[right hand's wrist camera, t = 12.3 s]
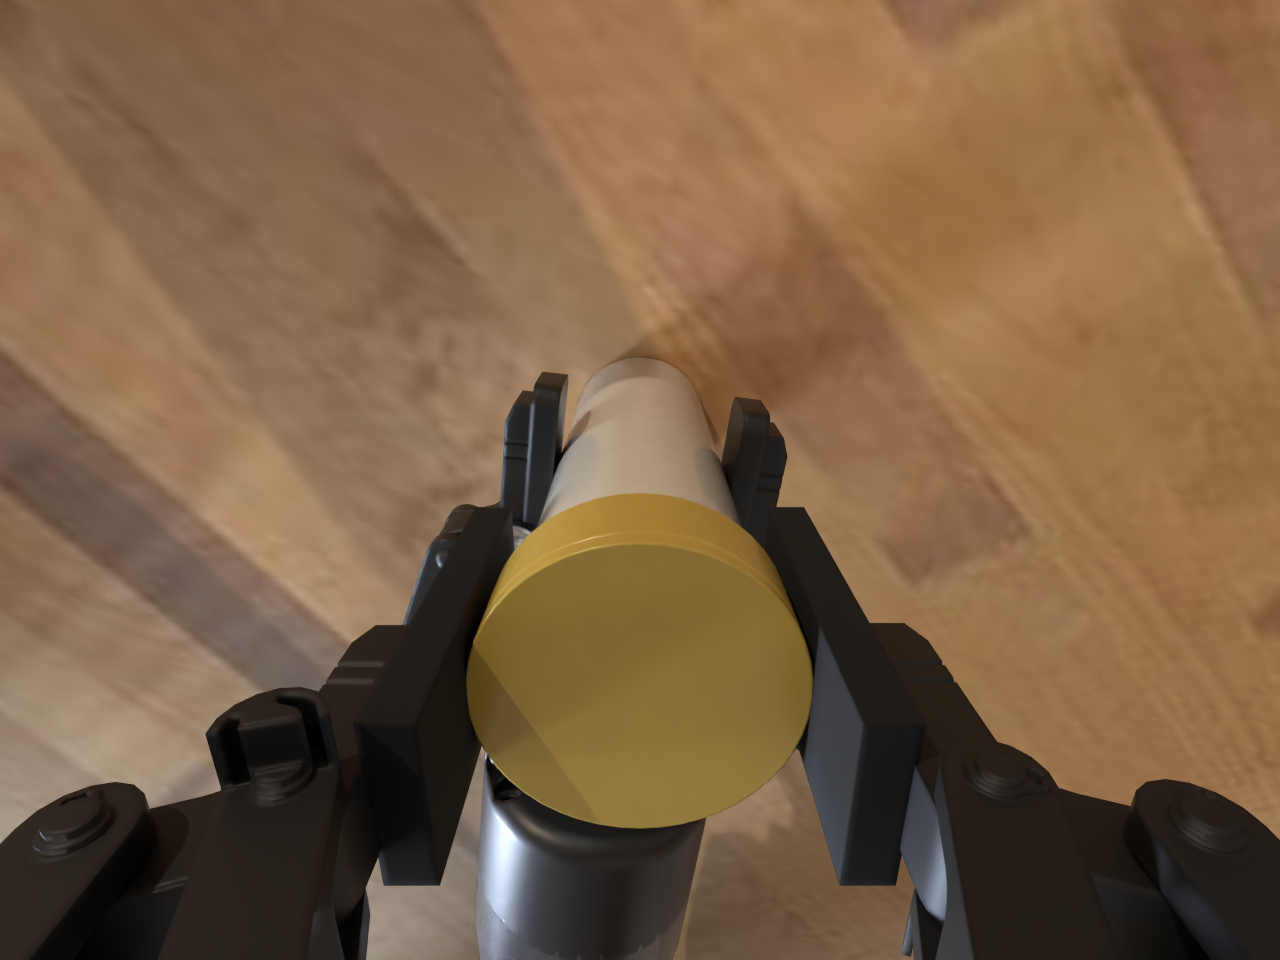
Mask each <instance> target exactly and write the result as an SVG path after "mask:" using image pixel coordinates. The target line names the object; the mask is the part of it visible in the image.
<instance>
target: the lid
mask: <svg viewBox="0 0 1280 960" xmlns="http://www.w3.org/2000/svg"><path fill="white" fill-rule="evenodd" d="M813 682H814V676H813V668H812V660H811V657H810V654H809V650H808V647H807V643H806V640H805V638H804V635H803V633H802V630H801V628H800V625H799V622H798V620H797V617H796V615H795V612H794V610H793V607H792V605H791V602H790V600H789V597H788V594H787V592H786V589H785V587H784V584H783V582H782V580H781V577H780V575H779V573H778V571H777V569H776V567H775V565H774V563H773V562H772V561H771V559H770V558H769V556H768V555H767V553H766V552H765V550H764V549H763V548H762V547H761V546H760V545H759V543H758V542H757V541H756V540H755V539H754V538H753V537H752V536H751V535H750V534H749V533H747V532H746V531H745V530H744V529H743V528H742V527H740V526H739V525H738V524H737V523H735V522H733V521H732V520H730V519H729V518H727V517H726V516H724V515H722V514H721V513H719V512H717V511H714V510H712V509H710V508H708V507H706V506H704V505H701V504H698V503H695V502H692V501H689V500H686V499H683V498H678V497H672V496H667V495H662V494H646V493H633V494H618V495H612V496H607V497H601V498H597V499H594V500H590V501H587V502H584V503H581V504H578V505H576V506H573V507H571V508H569V509H567V510H565V511H563V512H560V513H559V514H557V515H555V516H554V517H552V518H551V519H549V520H547V521H546V522H544V523H543V524H541V525H540V526H539V527H538V528H537V529H535V530H534V531H533V532H532V533H531V534H529V535H528V536H527V537H526V538H525V539H524V540H523V542H522V543H521V544H520V545H519V546H518V547H517V548H516V549H515V550H514V552H513V553H512V555H511V556H510V558H509V559H508V561H507V562H506V564H505V565H504V567H503V570H502V572H501V574H500V576H499V578H498V580H497V582H496V585H495V587H494V590H493V592H492V595H491V598H490V600H489V603H488V605H487V608H486V610H485V613H484V615H483V618H482V620H481V623H480V626H479V629H478V631H477V633H476V636H475V638H474V641H473V644H472V647H471V651H470V654H469V657H468V662H467V670H466V689H467V699H468V707H469V715H470V719H471V722H472V724H473V727H474V730H475V733H476V735H477V737H478V739H479V741H480V743H481V745H482V746H483V748H484V750H485V752H486V753H487V755H488V756H489V757H490V759H491V760H492V761H493V763H494V764H495V766H496V767H497V768H498V769H499V770H500V771H501V772H502V773H503V774H504V775H505V776H506V777H507V778H508V779H509V780H510V781H511V782H512V783H513V784H515V785H516V786H517V787H518V788H519V789H521V790H522V791H523V792H524V793H526V794H527V795H529V796H531V797H532V798H534V799H535V800H537V801H538V802H540V803H542V804H544V805H546V806H548V807H550V808H552V809H554V810H556V811H558V812H560V813H563V814H566V815H568V816H571V817H574V818H576V819H580V820H584V821H587V822H591V823H595V824H600V825H607V826H613V827H623V828H656V827H666V826H672V825H679V824H684V823H688V822H692V821H696V820H700V819H703V818H705V817H708V816H711V815H714V814H716V813H719V812H721V811H723V810H725V809H727V808H729V807H732V806H734V805H736V804H738V803H739V802H741V801H742V800H744V799H746V798H747V797H749V796H750V795H752V794H753V793H755V792H756V791H757V790H759V789H760V788H761V787H762V786H763V785H765V784H766V783H767V782H768V781H770V780H771V778H772V777H773V776H774V775H775V774H776V773H777V772H778V771H779V770H780V769H781V768H782V767H783V766H784V764H785V763H786V762H787V760H788V759H789V758H790V756H791V755H792V753H793V752H794V750H795V749H796V747H797V745H798V743H799V741H800V739H801V737H802V736H803V733H804V730H805V728H806V725H807V722H808V719H809V716H810V711H811V703H812V694H813Z"/></svg>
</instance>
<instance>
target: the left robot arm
mask: <svg viewBox="0 0 1280 960" xmlns="http://www.w3.org/2000/svg"><path fill="white" fill-rule="evenodd" d="M567 389H568V375H565V374H557V373H549V372H542V373H541V375H540V377H539V378H538V380H537V381H536V383H535V386H534V391H533V392H532V391H524V390H523V391H522V393H521V394H520V396H519V397H518V398H517V400H516V401H515V403H514V405H513V407H512V409H511V411H510V413H509V415H508V417H507V419H506V421H505V433H504V449H503V466H502V483H501V500H500V502H498V503H497V504H494V505H491V506H487V507H511V508H512V521H513V535H514V548H515V549H516V548H517V547H518V546H519V545H520V544H521V543H522V542H523V540H524V539H525V538H526V537H527V536H528V535H529V534H531V533H532V532H533V531H534V530H535V529H537V526H538V523H539V520H540V517H541V514H542V511H543V508H544V505H545V502H546V499H547V496H548V493H549V490H550V487H551V484H552V481H553V478H554V475H555V472H556V469H557V466H558V463H559V460H560V457H561V454H562V443H563V433H564V422H565V411H566V400H567ZM786 461H787V453H786V447H785V442H784V438H783V436H782V435H781V433H780V432H779V430H778V428H777V427H776V425H775V424H774V423H771V422H770V414H769V412H768V411H767V409H766V408H765V406H764V405H763V403H762V401H761V400H755V399H747V398H739V397H735V399H734V401H733V404H732V408H731V413H730V419H729V424H728V430H727V435H726V440H725V446H724V451H723V457H722V462H721V465H722V468H723V471H724V474H725V477H726V480H727V483H728V486H729V489H730V492H731V495H732V498H733V501H734V504H735V507H736V510H737V513H738V516H739V519H740V523H741V526H742V528H743V529H744V530H745V531H746V532H747V533H749V534H750V535H751V536H752V537H753V538H754V539H755V540H756V541H757V542H758V543H759V545H760V546H761V547H762V548H763V549H764V550H765V543H766V529H767V516H768V507H776V506H777V501H778V497H779V490H780V488H781V483H782V476H783V474H784V470H785V465H786ZM475 507H476V506H474V505H469V504H464V505H460V506H458V507H456V508H455V509H454V510H453V511H452V512H451V514H450V515H449V517H448V518H447V520H446V522H445V525H444V528H443V529H442V531H441V532H440V534H439V536H437V537H436V538H435V539H434V540H433V542H432V543H431V545H430V546H429V548H428V550H427V552H426V555H425V558H424V561H423V564H422V567H421V570H420V573H419V576H418V579H417V582H416V585H415V588H414V591H413V594H412V597H411V601H410V604H409V607H408V610H407V613H406V616H405V619H404V622H403V625H409V624H410V622H411V621H412V619H413V617H414V615H415V614H416V612H417V610H418V608H419V606H420V605H421V603H422V601H423V599H424V598H425V596H426V594H427V592H428V591H429V589H430V587H431V585H432V583H433V582H434V580H435V578H436V576H437V575H438V573H439V571H440V569H441V568H442V566H443V564H444V562H445V561H446V559H447V557H448V555H449V553H450V552H451V550H452V548H453V546H454V545H455V543H456V541H457V539H458V538H459V536H460V534H461V532H462V530H463V529H464V527H465V525H466V523H467V522H468V520H469V518H470V516H471V515H472V513H473V511H474V509H475ZM796 749H798V750H799V747H798V745H797V747H796ZM705 821H706V817H705V818H703V819H700V820H696V821H692V822H688V823H684V824H679V825H672V826H666V827H656V828H623V827H613V826H607V825H600V824H595V823H591V822H587V821H584V820H580V819H576V818H574V817H571V816H568V815H566V814H563V813H560V812H558V811H556V810H554V809H552V808H550V807H548V806H546V805H544V804H542V803H540V802H538V801H537V800H535V799H534V798H532V797H531V796H529V795H527V794H526V793H524V792H523V791H522V790H521V789H519V788H518V787H517V786H516V785H515V784H513V783H512V782H511V781H510V780H509V779H508V778H507V777H506V776H505V775H504V774H503V773H502V772H501V771H500V770H499V769H498V768H497V767H496V766H495V764H494V763H493V761H492V760H491V759H490V757H489V756H488V755H487V753H486V752H485V761H484V778H483V795H482V811H481V827H480V843H479V859H478V876H477V894H476V931H477V940H478V946H479V952H480V957H479V960H672V959H673V956H674V954H675V951H676V948H677V945H678V942H679V938H680V934H681V929H682V925H683V921H684V916H685V912H686V908H687V903H688V898H689V894H690V889H691V885H692V880H693V875H694V871H695V866H696V862H697V858H698V853H699V848H700V844H701V839H702V835H703V830H704V826H705Z"/></svg>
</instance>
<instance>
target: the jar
mask: <svg viewBox="0 0 1280 960" xmlns="http://www.w3.org/2000/svg"><path fill="white" fill-rule="evenodd" d="M633 493H646V494H662V495H667V496H672V497H678V498H683V499H686V500H689V501H692V502H695V503H698V504H701V505H704V506H706V507H708V508H710V509H712V510H714V511H717V512H719V513H721V514H722V515H724V516H726V517H727V518H729V519H730V520H732V521H733V522H735V523H737V524H738V525H739V526H740V527H742V526H741V523H740V519H739V516H738V513H737V510H736V507H735V504H734V501H733V498H732V495H731V492H730V489H729V486H728V483H727V480H726V477H725V474H724V471H723V468H722V465H721V462H720V459H719V456H718V453H717V450H716V447H715V444H714V441H713V438H712V435H711V432H710V429H709V426H708V423H707V420H706V417H705V414H704V411H703V408H702V405H701V402H700V399H699V396H698V394H697V392H696V390H695V388H694V386H693V385H692V384H691V382H690V381H689V380H688V379H687V378H686V377H685V376H684V374H682V373H681V372H680V371H679V370H677V369H676V368H674V367H673V366H671V365H669V364H667V363H665V362H662V361H659V360H656V359H652V358H644V357H635V358H627V359H623V360H620V361H617V362H614V363H612V364H610V365H608V366H606V367H605V368H603V369H602V370H601V371H599V372H598V373H597V374H596V375H595V376H594V377H593V378H592V379H591V380H590V381H589V383H588V384H587V385H586V387H585V389H584V390H583V392H582V394H581V397H580V399H579V402H578V405H577V408H576V411H575V414H574V417H573V420H572V423H571V426H570V429H569V432H568V436H567V439H566V442H565V445H564V448H563V451H562V454H561V457H560V460H559V463H558V466H557V469H556V472H555V475H554V478H553V481H552V484H551V487H550V490H549V493H548V496H547V499H546V502H545V505H544V508H543V511H542V514H541V517H540V520H539V523H538V526H537V528H538V527H539V526H540V525H541V524H543V523H544V522H546V521H547V520H549V519H551V518H552V517H554V516H555V515H557V514H559V513H560V512H563V511H565V510H567V509H569V508H571V507H573V506H576V505H578V504H581V503H584V502H587V501H590V500H594V499H597V498H601V497H607V496H612V495H618V494H633Z"/></svg>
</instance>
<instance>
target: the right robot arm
mask: <svg viewBox="0 0 1280 960" xmlns="http://www.w3.org/2000/svg"><path fill="white" fill-rule="evenodd" d="M514 550H515V548H514V535H513V521H512V508H511V507H475V509H474V511H473V513H472V515H471V516H470V518H469V520H468V522H467V523H466V525H465V527H464V529H463V530H462V532H461V534H460V536H459V538H458V539H457V541H456V543H455V545H454V546H453V548H452V550H451V552H450V553H449V555H448V557H447V559H446V561H445V562H444V564H443V566H442V568H441V569H440V571H439V573H438V575H437V576H436V578H435V580H434V582H433V583H432V585H431V587H430V589H429V591H428V592H427V594H426V596H425V598H424V599H423V601H422V603H421V605H420V606H419V608H418V610H417V612H416V614H415V615H414V617H413V619H412V621H411V622H410V624H409V625H375V626H374V627H373V628H371V629H370V630H369V631H367V632H366V633H365V634H363V635H362V636H360V637H359V638H358V639H356V640H355V641H354V642H352V643H351V645H350V646H349V648H348V649H347V651H346V652H345V654H344V655H343V657H342V658H341V660H340V661H339V663H338V667H335V668H334V670H333V671H332V673H331V674H330V676H329V677H328V679H327V680H326V681H327V682H326V685H323V686H322V688H321V689H320V691H319V692H318V691H314V690H310V689H306V688H302V687H295V688H279V689H275V690H271V691H268V692H264V693H260V694H256V695H254V696H252V697H250V698H248V699H246V700H244V701H242V702H240V703H238V704H235V705H234V706H233V707H231V708H230V709H229V710H227V711H226V712H225V713H223V714H222V715H221V716H219V717H218V718H217V719H216V720H215V721H214V723H213V724H212V726H211V727H210V728H209V730H208V731H207V732H206V738H207V741H208V745H209V748H210V751H211V755H212V758H213V762H214V765H215V769H216V772H217V776H218V779H219V782H220V786H221V791H219V792H215V793H212V794H209V795H206V796H202V797H198V798H194V799H190V800H186V801H181V802H177V803H173V804H169V805H165V806H160V807H156V808H152V809H149V806H148V803H147V800H146V797H145V794H144V793H143V792H142V791H141V790H140V789H138V788H137V787H136V786H135V785H133V784H126V783H119V782H112V783H106V784H100V785H93V786H89V787H86V788H84V789H81V790H78V791H76V792H73V793H70V794H67V795H65V796H63V797H61V798H59V799H57V800H55V801H54V802H52V803H50V804H48V805H47V806H45V807H43V808H41V809H39V810H38V811H36V812H35V813H34V814H33V815H31V816H30V817H29V818H28V819H27V820H25V821H24V822H23V823H22V824H21V825H19V826H18V827H17V828H16V829H15V830H14V831H13V832H12V833H11V834H10V835H9V836H8V837H7V838H6V839H5V840H4V841H3V842H2V843H1V844H0V960H366V953H367V942H368V932H369V921H370V910H369V903H368V897H367V892H366V885H367V883H368V881H369V878H370V876H371V873H372V871H373V868H374V866H375V863H376V861H377V859H378V857H379V863H380V868H381V873H382V878H383V884H384V886H440V883H441V880H442V877H443V873H444V870H445V867H446V863H447V860H448V856H449V853H450V850H451V846H452V843H453V840H454V836H455V833H456V830H457V826H458V823H459V820H460V816H461V813H462V810H463V806H464V803H465V800H466V796H467V793H468V790H469V786H470V783H471V780H472V776H473V773H474V770H475V766H476V763H477V759H478V756H479V753H480V749H481V746H482V745H481V743H480V741H479V739H478V737H477V735H476V733H475V730H474V727H473V724H472V722H471V719H470V715H469V707H468V699H467V689H466V670H467V662H468V657H469V654H470V651H471V647H472V644H473V641H474V638H475V636H476V633H477V631H478V629H479V626H480V623H481V620H482V618H483V615H484V613H485V610H486V608H487V605H488V603H489V600H490V598H491V595H492V592H493V590H494V587H495V585H496V582H497V580H498V578H499V576H500V574H501V572H502V570H503V567H504V565H505V564H506V562H507V561H508V559H509V558H510V556H511V555H512V553H513V552H514ZM765 552H766V553H767V555H768V556H769V558H770V559H771V561H772V562H773V563H774V565H775V567H776V569H777V571H778V573H779V575H780V577H781V580H782V582H783V584H784V587H785V589H786V592H787V594H788V597H789V600H790V602H791V605H792V607H793V610H794V612H795V615H796V617H797V620H798V622H799V625H800V628H801V630H802V633H803V635H804V638H805V640H806V643H807V647H808V650H809V654H810V657H811V660H812V668H813V676H814V682H813V694H812V703H811V711H810V716H809V719H808V722H807V725H806V728H805V730H804V733H803V736H802V737H801V739H800V741H799V743H798V747H799V751H800V754H801V757H802V761H803V764H804V767H805V771H806V774H807V778H808V781H809V784H810V788H811V791H812V794H813V798H814V801H815V804H816V808H817V811H818V814H819V818H820V821H821V824H822V828H823V831H824V834H825V838H826V841H827V844H828V848H829V851H830V854H831V858H832V861H833V865H834V868H835V871H836V875H837V878H838V881H839V885H840V886H896V881H897V876H898V871H899V866H900V860H901V855H902V856H903V859H904V861H905V864H906V866H907V868H908V871H909V873H910V876H911V878H912V881H913V883H914V885H915V887H914V892H913V897H912V902H911V907H910V912H909V917H908V922H907V927H906V932H905V936H904V942H903V949H902V955H906V956H910V957H911V953H912V948H913V951H914V960H1280V840H1279V839H1278V838H1277V837H1276V836H1275V835H1274V834H1273V833H1272V832H1271V831H1270V830H1269V829H1268V828H1267V827H1266V826H1265V825H1264V824H1263V823H1261V822H1260V821H1259V820H1258V819H1257V818H1255V817H1254V816H1253V815H1252V814H1250V813H1249V812H1248V811H1247V810H1246V809H1244V808H1243V807H1241V806H1239V805H1238V804H1236V803H1234V802H1232V801H1230V800H1229V799H1227V798H1225V797H1223V796H1222V795H1220V794H1218V793H1216V792H1213V791H1210V790H1208V789H1205V788H1202V787H1199V786H1197V785H1194V784H1191V783H1187V782H1180V781H1174V780H1167V779H1163V780H1156V781H1149V782H1146V783H1145V784H1143V785H1142V786H1141V787H1140V788H1139V789H1137V790H1136V792H1135V795H1134V798H1133V801H1132V804H1131V806H1127V805H1123V804H1119V803H1115V802H1110V801H1106V800H1102V799H1098V798H1093V797H1089V796H1085V795H1081V794H1077V793H1073V792H1070V791H1067V790H1064V789H1061V788H1058V786H1057V784H1056V783H1055V781H1054V780H1053V778H1052V776H1051V775H1050V773H1049V772H1048V771H1047V770H1046V769H1045V768H1044V767H1042V766H1041V765H1040V764H1039V763H1038V762H1037V761H1035V760H1034V759H1033V758H1032V757H1030V756H1029V755H1027V754H1025V753H1023V752H1021V751H1019V750H1017V749H1015V748H1014V747H1012V746H1009V745H1006V744H1003V743H999V742H997V741H996V740H995V738H994V737H993V735H992V734H991V732H990V731H989V729H988V728H987V726H986V725H985V724H984V722H983V721H982V719H981V718H980V716H979V715H978V713H977V712H976V710H975V709H974V707H973V706H972V704H971V703H970V701H969V700H968V699H967V697H966V696H965V694H964V693H963V691H962V690H961V688H960V687H959V685H958V684H957V682H954V680H953V679H954V678H953V677H952V675H951V674H950V672H949V671H948V669H947V668H946V666H945V665H942V660H941V659H940V657H939V656H938V654H937V653H936V652H935V650H934V649H933V647H932V646H931V644H930V643H929V641H928V640H926V639H925V638H924V637H922V636H921V635H920V634H918V633H917V632H916V631H914V630H913V629H911V628H910V627H909V626H907V625H906V624H905V623H869V621H868V620H867V618H866V616H865V614H864V613H863V611H862V609H861V607H860V605H859V604H858V602H857V600H856V598H855V597H854V595H853V593H852V591H851V590H850V588H849V586H848V584H847V582H846V581H845V579H844V577H843V575H842V574H841V572H840V570H839V568H838V567H837V565H836V563H835V561H834V559H833V558H832V556H831V554H830V552H829V551H828V549H827V547H826V545H825V544H824V542H823V540H822V538H821V536H820V535H819V533H818V531H817V529H816V528H815V526H814V524H813V522H812V521H811V519H810V517H809V515H808V513H807V512H806V510H805V508H804V507H768V516H767V529H766V543H765Z"/></svg>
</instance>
